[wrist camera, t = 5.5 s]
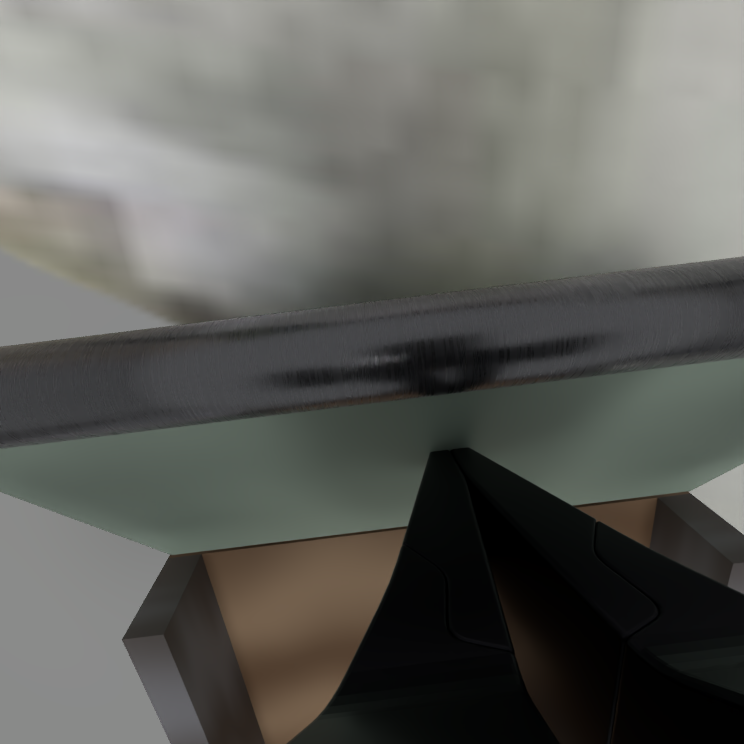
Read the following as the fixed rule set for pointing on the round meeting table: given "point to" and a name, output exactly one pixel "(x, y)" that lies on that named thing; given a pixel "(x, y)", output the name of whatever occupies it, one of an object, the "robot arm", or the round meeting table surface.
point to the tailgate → (380, 406)
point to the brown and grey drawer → (326, 617)
